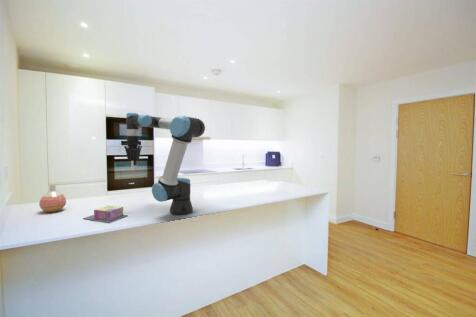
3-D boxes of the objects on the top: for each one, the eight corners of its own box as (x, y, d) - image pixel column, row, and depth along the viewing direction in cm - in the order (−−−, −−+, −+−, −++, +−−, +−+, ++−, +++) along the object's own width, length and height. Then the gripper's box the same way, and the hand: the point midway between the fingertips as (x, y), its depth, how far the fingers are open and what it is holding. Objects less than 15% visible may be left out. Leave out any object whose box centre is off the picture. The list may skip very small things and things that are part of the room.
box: (93, 219, 134) (110, 220, 131) (93, 209, 133) (110, 211, 131) (107, 214, 144) (123, 215, 141) (107, 205, 144) (123, 206, 141)
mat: (127, 216, 142) (127, 215, 142) (109, 223, 129) (109, 222, 129) (103, 212, 148) (103, 211, 148) (83, 219, 135) (83, 218, 135)
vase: (56, 214, 143) (55, 186, 142) (33, 214, 142) (32, 186, 142) (71, 208, 157) (70, 183, 156) (50, 208, 156) (49, 183, 155)
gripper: (144, 135, 157) (145, 169, 158) (128, 136, 160) (129, 169, 162) (137, 135, 150) (137, 170, 151) (120, 135, 153) (121, 170, 154)
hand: (133, 170), depth 156 cm, fingers closed
